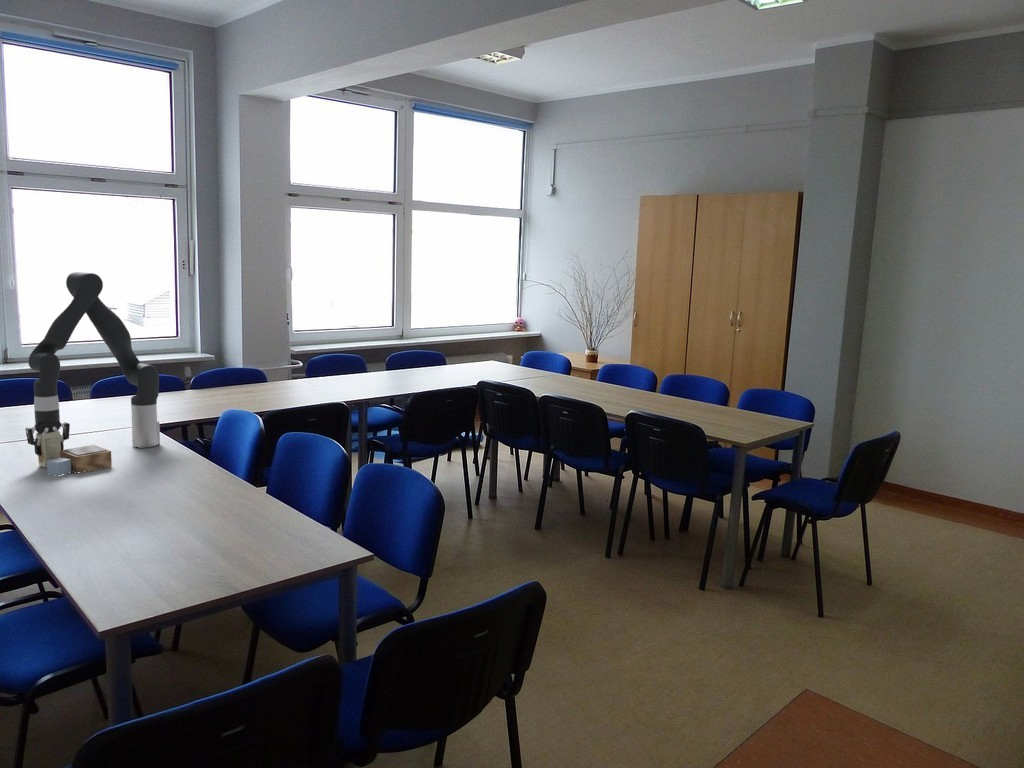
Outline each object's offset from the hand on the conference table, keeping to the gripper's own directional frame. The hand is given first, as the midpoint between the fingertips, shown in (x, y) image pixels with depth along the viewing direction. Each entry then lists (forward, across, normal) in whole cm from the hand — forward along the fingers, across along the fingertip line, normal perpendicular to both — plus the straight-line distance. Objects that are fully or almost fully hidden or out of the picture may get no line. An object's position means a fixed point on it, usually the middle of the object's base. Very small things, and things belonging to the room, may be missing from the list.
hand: (49, 453), depth 270 cm
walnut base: (+5, -8, +10) cm, 13 cm away
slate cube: (+5, +2, +12) cm, 13 cm away
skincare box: (+4, 0, 0) cm, 4 cm away
